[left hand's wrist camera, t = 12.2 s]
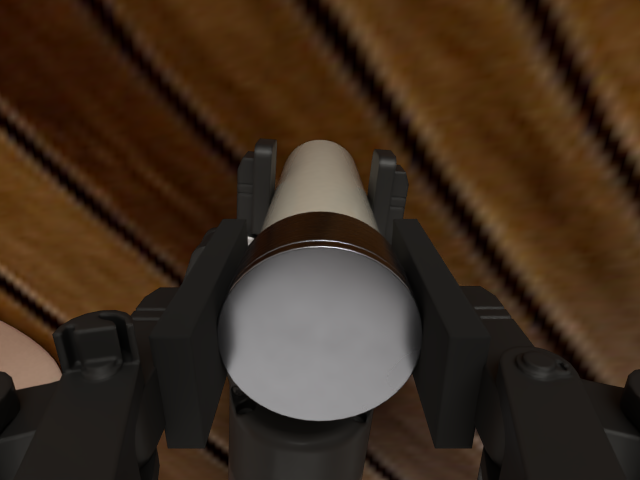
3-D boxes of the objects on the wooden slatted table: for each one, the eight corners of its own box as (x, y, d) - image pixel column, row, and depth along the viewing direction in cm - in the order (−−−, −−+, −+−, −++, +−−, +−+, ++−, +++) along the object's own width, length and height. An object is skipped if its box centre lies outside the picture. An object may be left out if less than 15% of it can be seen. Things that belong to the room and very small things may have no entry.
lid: (322, 173, 11) (323, 200, 9) (439, 293, 12) (466, 344, 10) (199, 288, 12) (173, 338, 10) (317, 386, 13) (316, 451, 11)
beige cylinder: (321, 123, 24) (322, 210, 9) (372, 178, 25) (445, 333, 10) (267, 176, 25) (193, 328, 10) (318, 227, 26) (317, 427, 12)
